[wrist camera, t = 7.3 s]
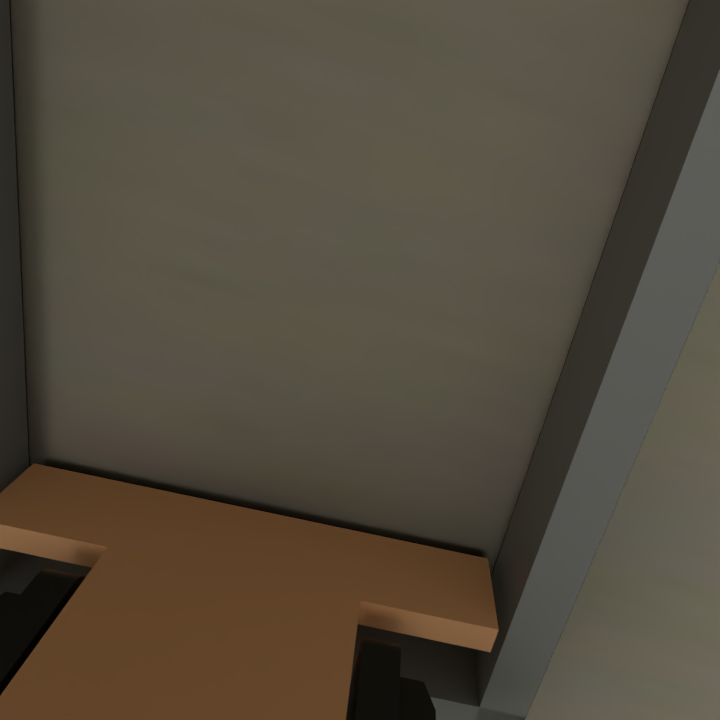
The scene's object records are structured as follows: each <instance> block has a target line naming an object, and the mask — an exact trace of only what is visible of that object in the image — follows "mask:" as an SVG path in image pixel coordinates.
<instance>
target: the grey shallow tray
mask: <svg viewBox="0 0 720 720" xmlns="http://www.w3.org/2000/svg"><path fill="white" fill-rule="evenodd" d="M719 261H720V0H690V2H689V5H688V8H687V11H686V13H685V16H684V19H683V22H682V25H681V28H680V31H679V34H678V37H677V40H676V42H675V45H674V48H673V51H672V54H671V57H670V60H669V63H668V66H667V69H666V72H665V74H664V77H663V80H662V83H661V86H660V89H659V92H658V95H657V98H656V101H655V103H654V106H653V109H652V112H651V115H650V118H649V121H648V124H647V127H646V130H645V132H644V135H643V138H642V141H641V144H640V147H639V150H638V153H637V156H636V159H635V161H634V164H633V167H632V170H631V173H630V176H629V179H628V182H627V185H626V188H625V190H624V193H623V196H622V199H621V202H620V205H619V208H618V211H617V214H616V217H615V219H614V222H613V225H612V228H611V231H610V234H609V237H608V240H607V243H606V246H605V248H604V251H603V254H602V257H601V260H600V263H599V266H598V269H597V272H596V275H595V277H594V280H593V283H592V286H591V289H590V292H589V295H588V298H587V301H586V304H585V306H584V309H583V312H582V315H581V318H580V321H579V324H578V327H577V330H576V333H575V335H574V338H573V341H572V344H571V347H570V350H569V353H568V356H567V359H566V362H565V364H564V367H563V370H562V373H561V376H560V379H559V382H558V385H557V388H556V391H555V393H554V396H553V399H552V402H551V405H550V408H549V411H548V414H547V417H546V420H545V422H544V425H543V428H542V431H541V434H540V437H539V440H538V443H537V446H536V449H535V451H534V454H533V457H532V460H531V463H530V466H529V469H528V472H527V475H526V478H525V480H524V483H523V486H522V489H521V492H520V495H519V498H518V501H517V504H516V507H515V509H514V512H513V515H512V518H511V521H510V524H509V527H508V530H507V533H506V536H505V538H504V541H503V544H502V547H501V550H500V553H499V556H498V559H497V562H496V565H495V567H494V570H493V573H492V576H491V582H492V588H493V595H494V602H495V608H496V615H497V622H498V628H499V631H498V633H497V636H496V639H495V641H494V644H493V647H492V650H491V652H487V651H482V650H477V649H473V648H468V647H463V646H459V645H454V644H449V643H444V642H440V641H435V640H430V639H426V638H421V637H416V636H411V635H407V634H402V633H397V632H393V631H388V630H383V629H379V628H374V627H369V626H364V625H360V624H358V625H357V633H356V641H355V649H354V657H353V665H352V674H351V680H352V676H353V672H354V668H355V664H356V660H357V656H358V652H359V648H360V644H361V640H362V637H367V638H371V639H376V640H381V641H385V642H390V643H395V644H399V645H400V646H401V664H400V677H404V678H408V679H413V680H418V681H422V682H424V683H425V686H426V688H427V691H428V693H429V695H430V698H431V700H432V703H433V705H434V707H435V710H436V720H525V718H526V716H527V714H528V711H529V709H530V706H531V704H532V702H533V699H534V697H535V695H536V692H537V690H538V688H539V685H540V683H541V681H542V678H543V676H544V673H545V671H546V669H547V666H548V664H549V662H550V659H551V657H552V655H553V652H554V650H555V648H556V645H557V643H558V641H559V638H560V636H561V633H562V631H563V629H564V626H565V624H566V622H567V619H568V617H569V615H570V612H571V610H572V608H573V605H574V603H575V600H576V598H577V596H578V593H579V591H580V589H581V586H582V584H583V582H584V579H585V577H586V575H587V572H588V570H589V568H590V565H591V563H592V560H593V558H594V556H595V553H596V551H597V549H598V546H599V544H600V542H601V539H602V537H603V535H604V532H605V530H606V527H607V525H608V523H609V520H610V518H611V516H612V513H613V511H614V509H615V506H616V504H617V502H618V499H619V497H620V495H621V492H622V490H623V487H624V485H625V483H626V480H627V478H628V476H629V473H630V471H631V469H632V466H633V464H634V462H635V459H636V457H637V454H638V452H639V450H640V447H641V445H642V443H643V440H644V438H645V436H646V433H647V431H648V429H649V426H650V424H651V422H652V419H653V417H654V414H655V412H656V410H657V407H658V405H659V403H660V400H661V398H662V396H663V393H664V391H665V389H666V386H667V384H668V381H669V379H670V377H671V374H672V372H673V370H674V367H675V365H676V363H677V360H678V358H679V356H680V353H681V351H682V349H683V346H684V344H685V341H686V339H687V337H688V334H689V332H690V330H691V327H692V325H693V323H694V320H695V318H696V316H697V313H698V311H699V308H700V306H701V304H702V301H703V299H704V297H705V294H706V292H707V290H708V287H709V285H710V283H711V280H712V278H713V276H714V273H715V271H716V268H717V266H718V264H719ZM28 468H29V452H28V428H27V405H26V382H25V358H24V335H23V312H22V289H21V265H20V242H19V219H18V195H17V172H16V149H15V125H14V102H13V79H12V55H11V32H10V9H9V0H0V493H1V492H2V491H3V490H4V489H6V488H7V487H8V486H9V485H10V484H11V483H12V482H13V481H14V480H16V479H17V478H18V477H19V476H20V475H21V474H22V473H23V472H24V471H25V470H27V469H28ZM43 569H51V570H56V571H61V572H65V573H70V574H75V575H80V576H84V577H85V578H86V576H87V575H88V573H89V572H90V571H91V569H92V568H91V567H87V566H82V565H77V564H73V563H68V562H63V561H59V560H54V559H49V558H44V557H40V556H35V555H30V554H26V553H21V552H16V551H11V550H7V549H2V548H0V595H1V594H3V593H4V592H11V593H15V594H21V593H22V592H23V591H24V590H25V588H26V587H27V586H28V585H29V584H30V582H31V581H32V580H33V579H34V577H35V576H36V575H37V574H38V573H39V572H40V571H42V570H43ZM350 684H351V682H350Z"/></svg>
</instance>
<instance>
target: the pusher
mask: <svg viewBox="0 0 720 720" xmlns="http://www.w3.org/2000/svg"><path fill="white" fill-rule="evenodd" d="M0 548H2V549H7V550H11V551H16V552H21V553H26V554H30V555H35V556H40V557H44V558H49V559H54V560H59V561H63V562H68V563H73V564H77V565H82V566H87V567H91V568H92V569H91V571H90V572H89V573H88V575H87V576H86V578H85V579H84V580H83V582H82V583H81V585H80V586H79V587H78V589H77V590H76V591H75V593H74V594H73V596H72V597H71V598H70V600H69V601H68V603H67V604H66V605H65V607H64V608H63V610H62V611H61V612H60V614H59V615H58V616H57V618H56V619H55V621H54V622H53V623H52V625H51V626H50V628H49V629H48V630H47V632H46V633H45V634H44V636H43V637H42V639H41V640H40V641H39V643H38V644H37V646H36V647H35V648H34V650H33V651H32V652H31V654H30V655H29V657H28V658H27V659H26V661H25V662H24V664H23V665H22V666H21V668H20V669H19V670H18V672H17V673H16V675H15V676H14V677H13V679H12V680H11V682H10V683H9V684H8V686H7V687H6V688H5V690H4V691H3V693H2V694H1V695H0V720H346V714H347V706H348V698H349V690H350V682H351V674H352V665H353V657H354V649H355V641H356V633H357V625H358V624H360V625H364V626H369V627H374V628H379V629H383V630H388V631H393V632H397V633H402V634H407V635H411V636H416V637H421V638H426V639H430V640H435V641H440V642H444V643H449V644H454V645H459V646H463V647H468V648H473V649H477V650H482V651H487V652H491V650H492V647H493V644H494V641H495V639H496V636H497V633H498V631H499V628H498V622H497V615H496V608H495V602H494V595H493V588H492V582H491V575H490V568H489V562H488V558H483V557H478V556H473V555H468V554H464V553H459V552H454V551H449V550H445V549H440V548H435V547H430V546H426V545H421V544H416V543H411V542H406V541H402V540H397V539H392V538H387V537H383V536H378V535H373V534H368V533H364V532H359V531H354V530H349V529H345V528H340V527H335V526H330V525H325V524H321V523H316V522H311V521H306V520H302V519H297V518H292V517H287V516H283V515H278V514H273V513H268V512H263V511H259V510H254V509H249V508H244V507H240V506H235V505H230V504H225V503H221V502H216V501H211V500H206V499H202V498H197V497H192V496H187V495H182V494H178V493H173V492H168V491H163V490H159V489H154V488H149V487H144V486H140V485H135V484H130V483H125V482H121V481H116V480H111V479H106V478H101V477H97V476H92V475H87V474H82V473H78V472H73V471H68V470H63V469H59V468H54V467H49V466H44V465H39V464H35V463H33V464H32V465H31V466H30V467H29V468H28V469H27V470H25V471H24V472H23V473H22V474H21V475H20V476H19V477H18V478H17V479H16V480H14V481H13V482H12V483H11V484H10V485H9V486H8V487H7V488H6V489H4V490H3V491H2V492H1V493H0Z"/></svg>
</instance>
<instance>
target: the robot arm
mask: <svg viewBox="0 0 720 720" xmlns="http://www.w3.org/2000/svg"><path fill="white" fill-rule="evenodd" d="M84 579H85V577H84V576H80V575H75V574H70V573H65V572H61V571H56V570H51V569H43V570H42V571H40V572H39V573H38V574H37V575H36V576H35V577H34V579H33V580H32V581H31V582H30V584H29V585H28V586H27V587H26V588H25V590H24V591H23V592H22V593H21V594H15V593H11V592H4V593H3V594H1V595H0V695H1V694H2V693H3V691H4V690H5V688H6V687H7V686H8V684H9V683H10V682H11V680H12V679H13V677H14V676H15V675H16V673H17V672H18V670H19V669H20V668H21V666H22V665H23V664H24V662H25V661H26V659H27V658H28V657H29V655H30V654H31V652H32V651H33V650H34V648H35V647H36V646H37V644H38V643H39V641H40V640H41V639H42V637H43V636H44V634H45V633H46V632H47V630H48V629H49V628H50V626H51V625H52V623H53V622H54V621H55V619H56V618H57V616H58V615H59V614H60V612H61V611H62V610H63V608H64V607H65V605H66V604H67V603H68V601H69V600H70V598H71V597H72V596H73V594H74V593H75V591H76V590H77V589H78V587H79V586H80V585H81V583H82V582H83V580H84ZM400 664H401V646H400V645H399V644H395V643H390V642H385V641H381V640H376V639H371V638H367V637H362V640H361V644H360V648H359V652H358V656H357V660H356V664H355V668H354V672H353V676H352V680H351V684H350V690H349V698H348V706H347V714H346V720H436V710H435V707H434V705H433V703H432V700H431V698H430V695H429V693H428V691H427V688H426V686H425V683H424V682H422V681H418V680H413V679H408V678H404V677H400Z"/></svg>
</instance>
